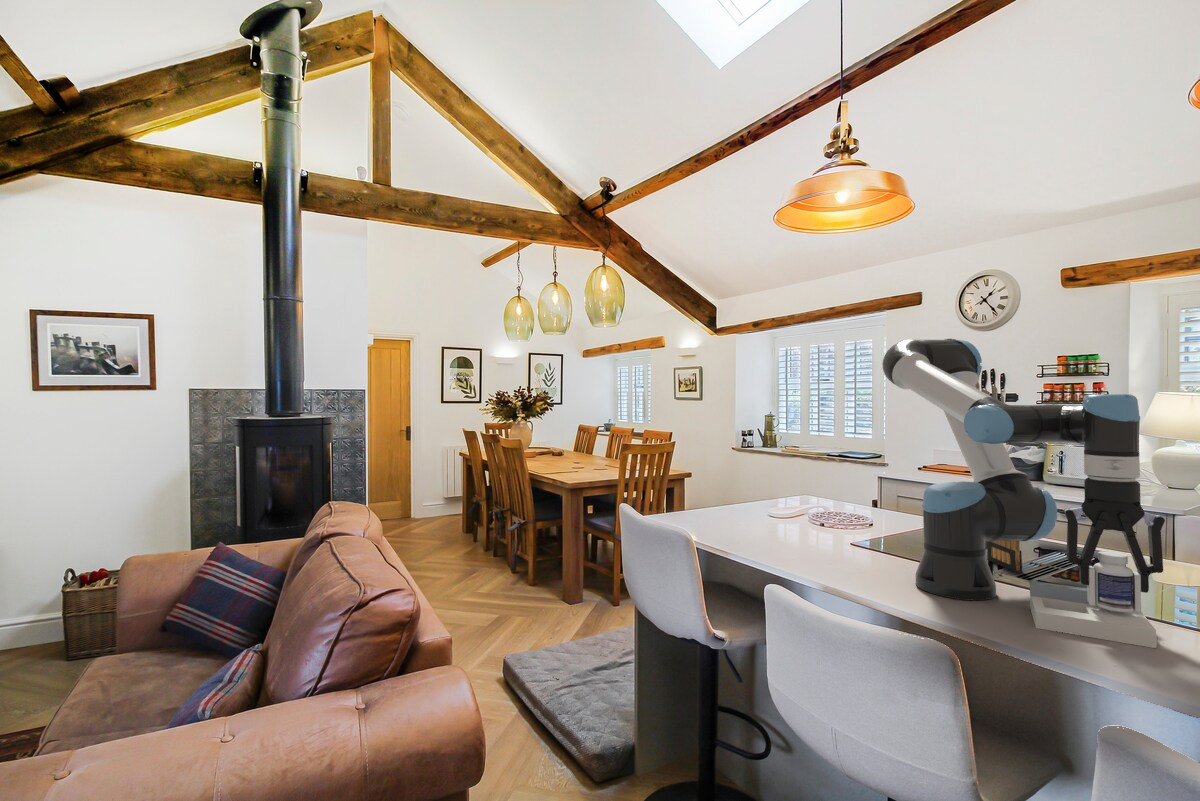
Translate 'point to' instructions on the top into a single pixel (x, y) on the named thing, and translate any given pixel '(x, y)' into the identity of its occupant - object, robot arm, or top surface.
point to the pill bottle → (1114, 582)
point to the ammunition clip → (1005, 554)
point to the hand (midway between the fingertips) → (1113, 605)
